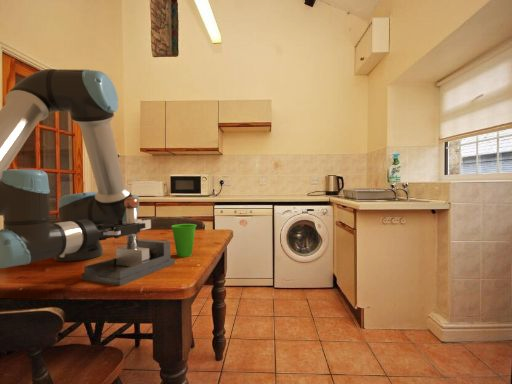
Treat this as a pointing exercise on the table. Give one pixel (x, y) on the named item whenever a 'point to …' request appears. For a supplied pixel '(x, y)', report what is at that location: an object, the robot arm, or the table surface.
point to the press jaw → (131, 239)
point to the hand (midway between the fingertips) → (145, 223)
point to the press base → (124, 274)
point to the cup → (184, 238)
